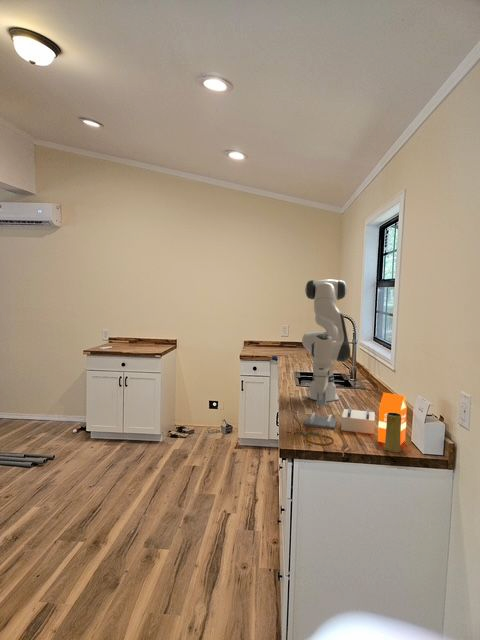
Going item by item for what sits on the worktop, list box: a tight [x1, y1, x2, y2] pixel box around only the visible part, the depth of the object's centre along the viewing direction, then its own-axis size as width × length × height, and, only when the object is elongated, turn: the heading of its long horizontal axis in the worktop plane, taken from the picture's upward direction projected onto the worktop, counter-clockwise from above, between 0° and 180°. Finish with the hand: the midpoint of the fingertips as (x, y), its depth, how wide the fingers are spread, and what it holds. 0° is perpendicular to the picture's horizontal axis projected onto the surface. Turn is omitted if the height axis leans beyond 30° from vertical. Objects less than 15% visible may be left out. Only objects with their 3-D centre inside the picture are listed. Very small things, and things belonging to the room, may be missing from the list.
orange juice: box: [377, 391, 408, 445], centre depth 174 cm, size 8×9×20 cm
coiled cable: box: [299, 429, 334, 446], centre depth 175 cm, size 12×16×2 cm
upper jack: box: [340, 405, 376, 435], centre depth 192 cm, size 14×14×8 cm
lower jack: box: [303, 411, 338, 430], centre depth 197 cm, size 14×14×3 cm
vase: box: [383, 412, 402, 453], centre depth 164 cm, size 6×6×14 cm
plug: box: [316, 391, 327, 406], centre depth 196 cm, size 4×4×6 cm
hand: (321, 398), depth 196 cm, fingers closed on plug, 4 cm apart
